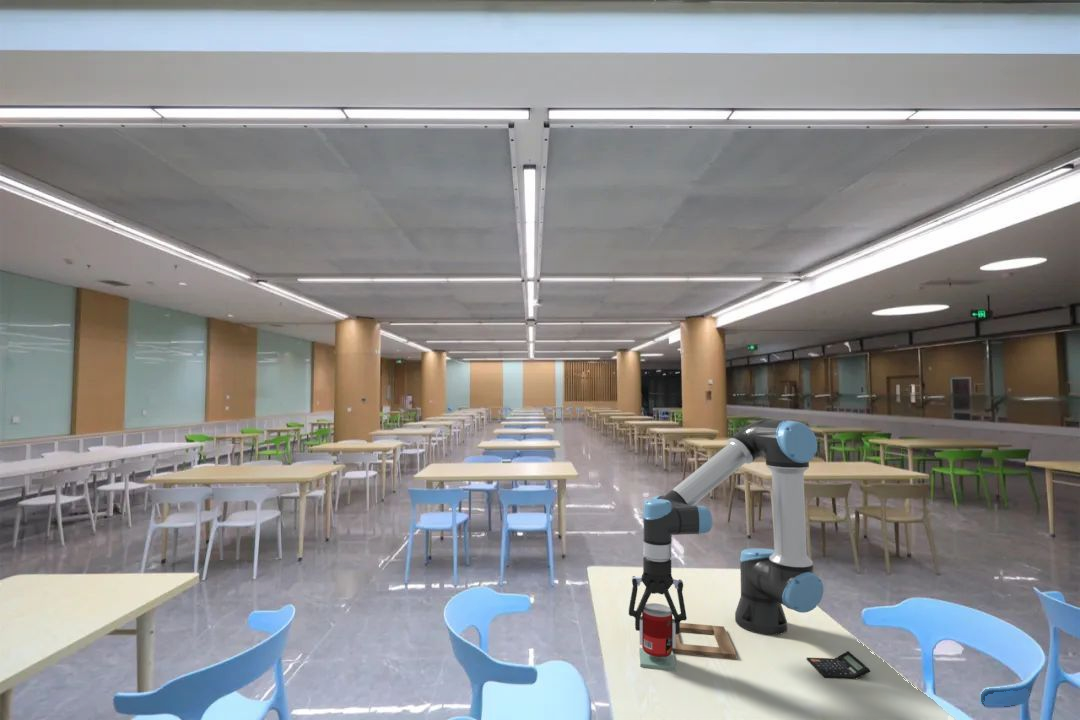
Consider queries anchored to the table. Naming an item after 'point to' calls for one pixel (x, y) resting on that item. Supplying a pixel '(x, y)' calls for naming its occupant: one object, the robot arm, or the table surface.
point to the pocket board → (721, 652)
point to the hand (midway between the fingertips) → (657, 644)
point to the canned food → (657, 630)
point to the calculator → (840, 666)
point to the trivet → (656, 661)
